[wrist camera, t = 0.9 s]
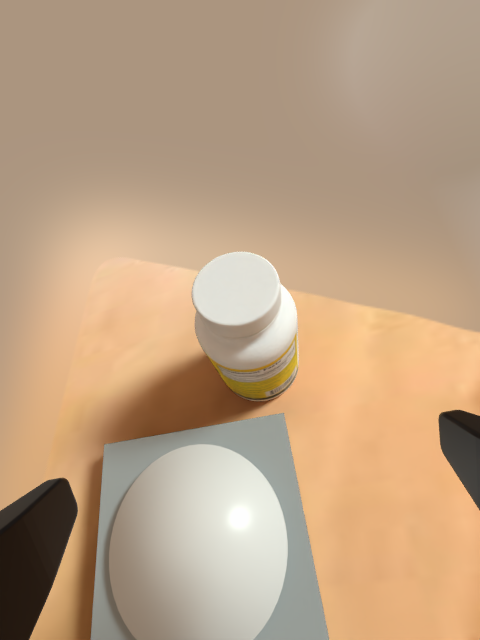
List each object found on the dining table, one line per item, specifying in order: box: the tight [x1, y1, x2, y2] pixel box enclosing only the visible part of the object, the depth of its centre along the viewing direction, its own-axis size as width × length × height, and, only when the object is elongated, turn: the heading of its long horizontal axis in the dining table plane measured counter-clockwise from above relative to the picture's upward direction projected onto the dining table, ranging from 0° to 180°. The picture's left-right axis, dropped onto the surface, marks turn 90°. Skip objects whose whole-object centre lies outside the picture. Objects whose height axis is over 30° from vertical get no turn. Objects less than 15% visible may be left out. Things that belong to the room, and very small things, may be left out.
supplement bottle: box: [192, 252, 299, 401], centre depth 19 cm, size 5×5×10 cm
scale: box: [91, 413, 329, 640], centre depth 17 cm, size 14×11×3 cm
